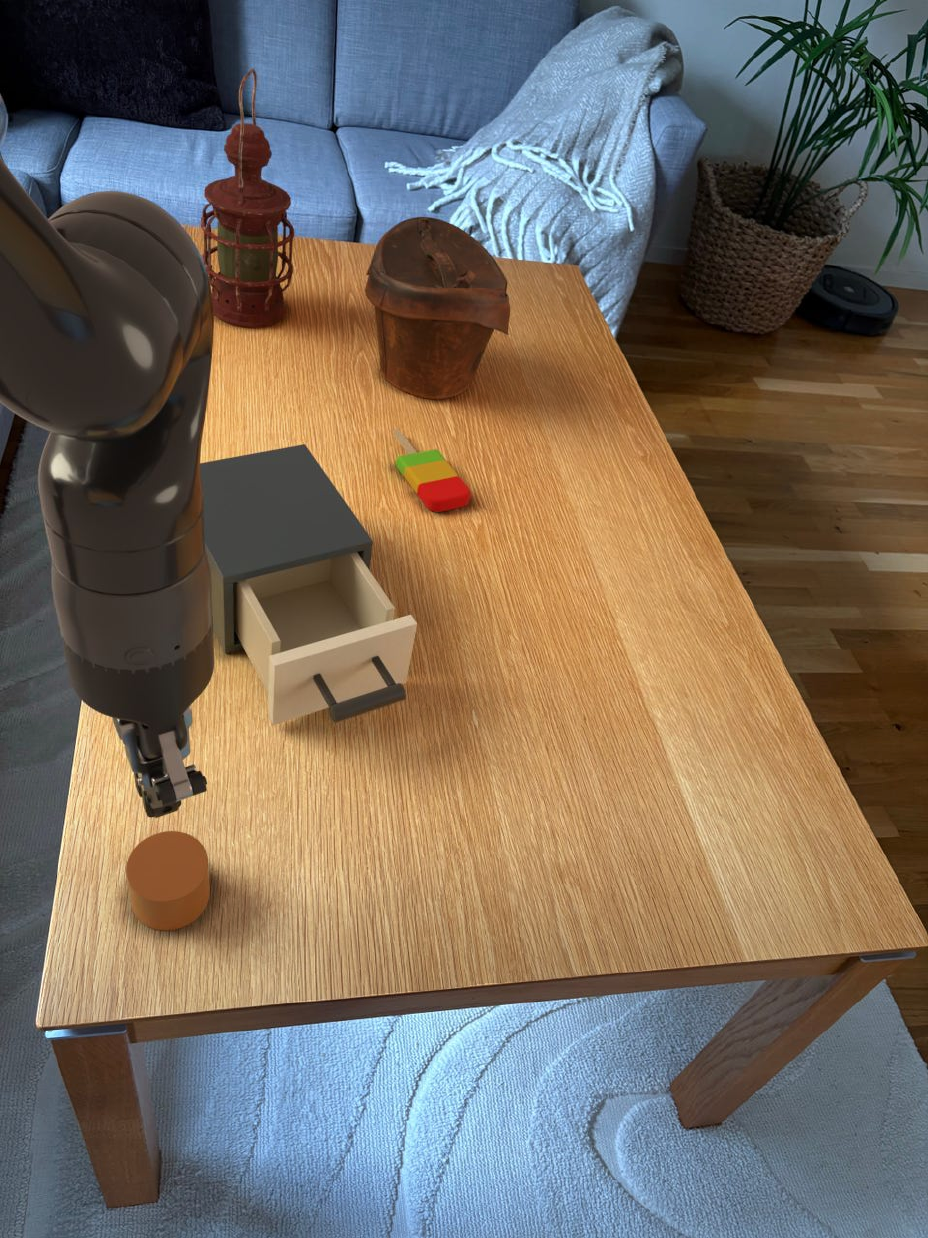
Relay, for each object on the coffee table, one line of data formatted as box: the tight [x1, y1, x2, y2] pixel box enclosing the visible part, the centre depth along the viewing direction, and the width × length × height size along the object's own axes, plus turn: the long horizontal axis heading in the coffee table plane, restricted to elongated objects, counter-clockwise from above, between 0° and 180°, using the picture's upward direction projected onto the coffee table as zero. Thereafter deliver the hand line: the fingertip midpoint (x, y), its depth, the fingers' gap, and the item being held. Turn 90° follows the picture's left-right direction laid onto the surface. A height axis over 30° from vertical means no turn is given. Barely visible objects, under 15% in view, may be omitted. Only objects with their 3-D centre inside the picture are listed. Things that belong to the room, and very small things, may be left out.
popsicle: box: [392, 429, 471, 513], centre depth 110 cm, size 6×15×2 cm, turn 29°
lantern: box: [200, 68, 296, 329], centre depth 119 cm, size 12×12×30 cm
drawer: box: [233, 552, 418, 726], centre depth 83 cm, size 20×13×8 cm
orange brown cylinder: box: [125, 830, 211, 931], centre depth 67 cm, size 6×6×4 cm
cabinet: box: [200, 443, 374, 655], centre depth 90 cm, size 16×14×10 cm
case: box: [364, 216, 511, 400], centre depth 119 cm, size 18×20×18 cm
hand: (158, 798), depth 60 cm, fingers closed
